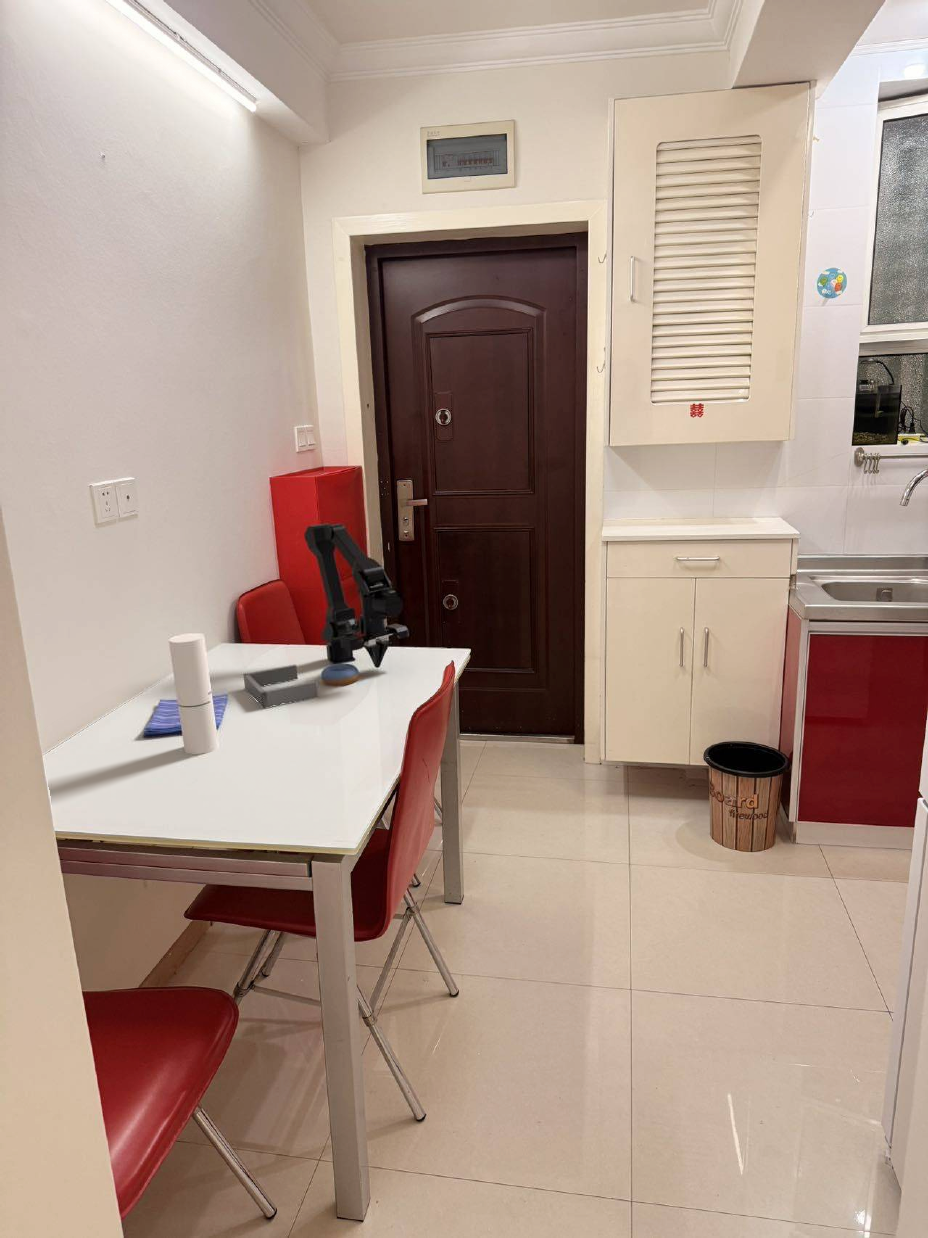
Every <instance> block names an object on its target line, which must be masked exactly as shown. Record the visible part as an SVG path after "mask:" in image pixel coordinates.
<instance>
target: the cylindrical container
mask: <svg viewBox="0 0 928 1238" xmlns="http://www.w3.org/2000/svg"><path fill="white" fill-rule="evenodd" d="M205 639H206V638H205V635H204V634H203V633H199V632H198V633H195V632H194V633H190V632H188V633H181V634H178V635H175V636H174V635H173V636H172V637H170V638H169V639H168V643H169V644H168V645H169V650H170V657H171V664H172V673H173V679H174V686H175V692H176V700H177V701H178V708H179V715H180V722H181V728H182V734H181V735H182V741H183V747H184V752H185V753H186V754H188V753H189V754H188V755H202V753H204V754H208V753H211V752H213V751H215V750H217V749H218V748H219V746H220V745H219V737H218V729H216V722H215V714H214V707H213V699H212V696H213V692H212V687H211V679H210V678H211V677H210V671H209V664H208V656H207V646H206V640H205ZM210 751H211V752H210Z"/></svg>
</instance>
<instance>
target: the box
mask: <svg viewBox="0 0 928 1238" xmlns="http://www.w3.org/2000/svg"><path fill="white" fill-rule="evenodd" d="M293 679H298V668H297V664H290V665H285V666H280V667H274V668H269V669H264V670H257V671H253V672H248V673H243V683H244V689H245V690H246V689H247V690H248V691H247V690H246V691H247V693H250V694H251V695H252V696H253V697H254V698H255V699H256V700H257V701H258V702H257V701H256V700H255V699H254V698H253V697H252V696H251V695H250V694H249V695H250V696H251V697H252V698H253V699H254V700H255V701H256V702H257V703H258V705H259V704H260V705H261V706H262V707H263V708H264V709H266V707H269V708H271V707H270V706H273V705H278V706H281V705H280V704H282V703H288V704H290V703H289V702H292V703H295V702H294V701H297V702H301V701H300V700H302V701H306V700H307V701H308V700H311V699H315V697H316V698H319V693H318V683H317V681H316V680H312V681H308V682H302V683H298V684H297V683H296V684H292V685H287V686H283V687H277V688H273V689H268V690H265V689H264V688H263V687H265V686H264V685H268V684H273V685H276V684H275V683H278V682H283V683H286V682H285V681H288V682H290V681H289V680H293ZM293 681H294V680H293ZM278 684H279V683H278ZM261 686H263V687H261ZM268 686H269V685H268ZM260 705H259V706H260ZM261 706H260V707H261ZM262 707H261V708H262ZM273 707H274V706H273ZM263 708H262V709H263Z"/></svg>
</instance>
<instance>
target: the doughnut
mask: <svg viewBox="0 0 928 1238" xmlns="http://www.w3.org/2000/svg"><path fill="white" fill-rule="evenodd" d="M320 675H321V680H322V682H323V683H324V684H326V685H327V686H333V685H334V686H335V687H338V686H339V687H340V685H341V686H346V684H347V685H350V684H353V683H355V682H357V680H358V679H359V676H360V672H359V669H358V667H357V666H356V665H354V664H351V663H337V664H334V663H333V664H331V665H328V666H326V667H325V668H323V670H321V673H320Z"/></svg>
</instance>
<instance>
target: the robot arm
mask: <svg viewBox="0 0 928 1238" xmlns="http://www.w3.org/2000/svg"><path fill="white" fill-rule="evenodd" d="M303 534H304V540H305V542H306V545H307V547H308V548H307V549H308V550H309V551H310V552H311V553H312V555H314V557H316V560H317V565H318V567H319V572H320V573H319V574H320V577H321V581H322V585H323V589H324V593H325V598H326V601H327V605H328V608H327V610H326V614H325V616H324V617H325V618H324V619H325V626H324V628H323V629H322V631H321V633H320V634H321V638H322V639H321V640H322V641H323V642H324V643H327V645H326V646H325V648H326V656H327V660H328V661H329V662H330V663H332V664H333V665H334V664H344V663H346V662H347V663H348V662H352V661H356V657H354V652H355V651H358V650H362V649H363V648H364V649H365V650H366V652H367V653H368V656H369V658H370V659H371V662H372V664H373V665H374V667H375V669H378V668H380V667H381V665H382V662H383V659H384V657H385V654H386V652H387V650H388V648H389V646H390V645H391V644H392V641H391V640H390V639H389V637H392V636H393V637H394V636H396V637H397V638H398V639H403V638H408V637H409V629H408V627H407V626H406V625H403V624H398V623H392V624H388V625H386V626H385V620H387V619H388V618H387V617H389V618H396V617H399V615H400V614H401V613H402V612H403V608H404V602H403V600H402V599H401V597H399V596H398V595H396V594H397V592H396V590H393V586H392V582H391V581H390V579H389V576H388V575H387V573H386V571H385V569H384V567H383V566H382V565H381V564H380V563H379V562H378V561H376V560H375V559H374V558H371V557H369V556H367V555H366V554H365V553H364V551H363V550H362V548H361V547H360V546H359V545H358V544H357V543H356V541H355V540H354V539H353V537H352V536H351V535H350V533H348V531H347V527H346V526H345V525H344V524H342V523H337V524H331V523H323V524H322V523H321V524H315V525H308V526H307V528H306V530H305V531H304V533H303ZM336 549H337V551H338V552H339V553H340V555H341V556H342V557H343V559H344V560H345V561H346V562H347V564H348V565H349V566H350V568H351V577H352V579H353V580H354V581H355V584H356V585H357V587H358V589H357V590H356V595H360V605H361V614H360V615H359V617H358V619H359V620H358V619H357V617H356V612H355V611H356V610H355V609H354V608H353V607H350V606H349V605H348V604H347V603H346V600H345V594H344V591H343V586H342V583H341V579H340V573H339V570H338V566H337V562H336V557H335V550H336ZM357 634H358V635H357ZM359 635H362V636H359Z"/></svg>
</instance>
